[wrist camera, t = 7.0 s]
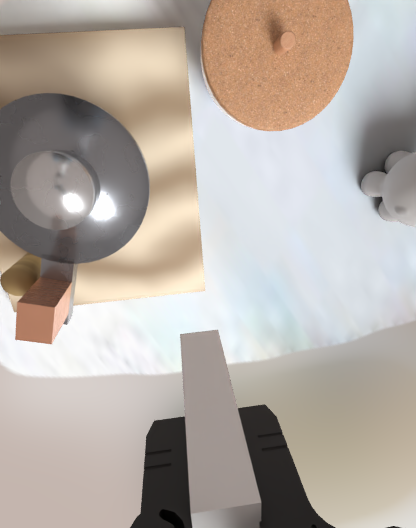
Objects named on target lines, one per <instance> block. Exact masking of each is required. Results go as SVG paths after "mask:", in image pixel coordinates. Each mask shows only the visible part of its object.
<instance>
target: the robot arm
mask: <svg viewBox="0 0 416 528" xmlns="http://www.w3.org/2000/svg"><path fill="white" fill-rule="evenodd" d="M180 338H181V356H182V373H183V389H184V407H185V417H178V418H171V419H163V420H156V421H154V422H153V424H152V426H151V428H150V430H149V432H148V434H147V436H146V450H145V462H144V477H143V489H142V503H141V514H140V515H139V516H138V517H137V518H136V519H135V521H134V522H133V524H132V526H131V527H130V528H335V527H333V526H331V525H330V524H328V523H327V522H325V521H324V520H323V519H322V518H321V517H320V516H318V514H317V513H316V512H315V510H314V509H313V508H312V506H311V504H310V502H309V501H308V498H307V496H306V493H305V491H304V488H303V485H302V483H301V480H300V477H299V475H298V472H297V469H296V467H295V464H294V462H293V459H292V456H291V454H290V451H289V449H288V447H287V443H286V441H285V438H284V436H283V435H282V430H281V428H280V425H279V422H278V420H277V417H276V416H275V415H274V414H273V412H272V411H271V410H270V409H268V407H267V406H266V405H258V406H251V407H243V408H237V404H236V400H235V396H234V392H233V389H232V384H231V380H230V376H229V372H228V368H227V364H226V360H225V356H224V352H223V348H222V344H221V340H220V336H219V332H218V330H212V331H204V332H195V333H187V334H180ZM387 528H400V527H395V526H392V527H387Z"/></svg>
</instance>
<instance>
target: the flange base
mask: <svg viewBox="0 0 416 528" xmlns="http://www.w3.org/2000/svg"><path fill="white" fill-rule="evenodd" d="M41 93H58V94H65V95H70V96H74V97H77V98H80V99H83V100H86V101H88V102H90V103H92V104H94V105H97V106H99V107H101V108H102V109H104V110H105V111H107V112H108V113H110V114H112V115H113V116H114V117H115V118H116V119H118V120H119V121H120V122H121V123H122V124H123V125H124V126H125V127H126V128H127V129H128V130H129V132H130V133H131V134H132V136H133V137H134V139H135V140H136V142H137V143H138V145H139V147H140V149H141V151H142V153H143V155H144V158H145V160H146V164H147V167H148V171H149V178H150V197H149V203H148V207H147V211H146V214H145V217H144V219H143V222H142V224H141V226H140V227H139V229H138V231H137V232H136V234H135V235H134V236H133V237H132V239H131V240H130V241H129V242H128V243H127V244H126V245H125V246H124V247H122V248H121V249H120V250H118V251H117V252H115V253H113V254H112V255H110V256H108V257H105V258H103V259H100V260H97V261H93V262H89V263H80V264H78V268H77V277H76V286H75V294H74V303H73V306H74V305H83V304H92V303H101V302H110V301H119V300H128V299H137V298H146V297H155V296H164V295H172V294H181V293H190V292H199V291H205V282H204V269H203V257H202V244H201V231H200V219H199V206H198V193H197V181H196V168H195V155H194V143H193V130H192V117H191V105H190V92H189V79H188V67H187V54H186V41H185V28H184V27H169V28H147V29H126V30H104V31H82V32H61V33H39V34H17V35H0V109H1V108H2V107H4V106H5V105H7V104H9V103H10V102H12V101H14V100H17V99H19V98H22V97H24V96H29V95H33V94H41ZM41 259H42V258H40V257H37V256H35V255H33V254H31V253H29V252H27V251H25V250H23V249H22V248H20V247H19V246H17V245H16V244H14V243H13V242H12V241H11V240H9V239H8V238H7V237H6V236H5V235H4V234H3V233H2V232H1V231H0V271H1V274H2V276H1V279H0V281H1V285H2V287H3V289H4V290H5V291H6V292H8V295H9V298H10V301H11V304H12V307H13V310H14V312H17V302H18V301H19V300H20V299H21V297H22V296H23V295H24V294H25V293H26V292H27V291H28V290H29V289H30V288H31V287H32V285H33V284H34V283H35V282H36V281H37V280H38V279H39V278H40V272H41Z"/></svg>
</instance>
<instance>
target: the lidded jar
mask: <svg viewBox="0 0 416 528" xmlns="http://www.w3.org/2000/svg"><path fill="white" fill-rule="evenodd" d="M352 47H353V21H352V15H351V10H350V6H349V3H348V0H211V2H210V5H209V7H208V10H207V12H206V16H205V21H204V25H203V29H202V39H201V67H202V73H203V78H204V81H205V84H206V87H207V90H208V92H209V94H210V96H211V98H212V99H213V101H214V102H215V104H216V105H217V107H218V108H219V109H220V110H221V111H222V112H223V113H224V114H225V115H226V116H228V117H229V118H230V119H232V120H233V121H235V122H237V123H239V124H241V125H243V126H246V127H249V128H253V129H257V130H263V131H282V130H286V129H291V128H294V127H297V126H299V125H302V124H304V123H305V122H307V121H309V120H311V119H312V118H314V117H315V116H316V115H317V114H319V113H320V112H321V111H322V110H323V109H324V108H325V107H326V106H327V105H328V104H329V103H330V101H331V100H332V99H333V97H334V96H335V94H336V93H337V92H338V90H339V88H340V86H341V84H342V82H343V80H344V78H345V75H346V72H347V70H348V67H349V63H350V59H351V55H352Z"/></svg>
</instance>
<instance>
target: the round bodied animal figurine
mask: <svg viewBox="0 0 416 528" xmlns="http://www.w3.org/2000/svg"><path fill="white" fill-rule="evenodd" d="M385 171H386V172H387V173H388V174H386V173H384V172H380V171H372V172H369V173H367V174H366V175H365V176H364V178H363V180H362V183H361V190H362V192H363V193H364V194H366V195H368V196H371V197H381V196H382V198H383V201H382V202H381V203H380V205H379V215H380V217H381V218H382V219H384V220H386V221H390V222H398V221H399V222H401V223H403V224H405V225H408V226H411V227H416V152H413V153H410V152H407V151H396V152H393V153H391V154H390V155H389V156H388V158H387V159H386V162H385Z"/></svg>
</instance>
